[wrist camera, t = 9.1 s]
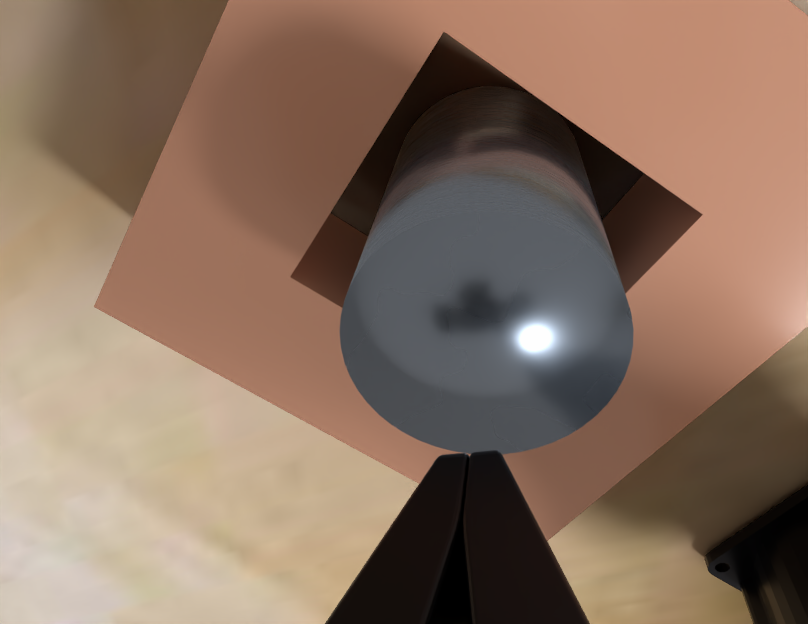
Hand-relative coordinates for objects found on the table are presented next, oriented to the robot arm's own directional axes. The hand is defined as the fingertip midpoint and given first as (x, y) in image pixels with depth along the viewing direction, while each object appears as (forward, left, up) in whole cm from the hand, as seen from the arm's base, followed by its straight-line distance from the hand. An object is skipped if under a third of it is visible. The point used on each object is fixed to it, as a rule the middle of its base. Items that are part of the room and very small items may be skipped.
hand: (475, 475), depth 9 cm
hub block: (0, 0, -11) cm, 11 cm away
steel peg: (0, 0, -11) cm, 11 cm away
